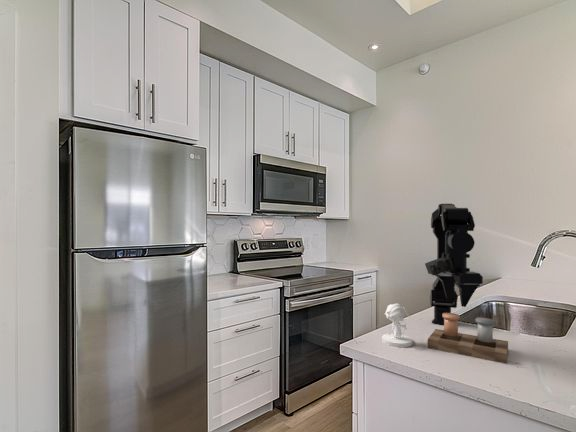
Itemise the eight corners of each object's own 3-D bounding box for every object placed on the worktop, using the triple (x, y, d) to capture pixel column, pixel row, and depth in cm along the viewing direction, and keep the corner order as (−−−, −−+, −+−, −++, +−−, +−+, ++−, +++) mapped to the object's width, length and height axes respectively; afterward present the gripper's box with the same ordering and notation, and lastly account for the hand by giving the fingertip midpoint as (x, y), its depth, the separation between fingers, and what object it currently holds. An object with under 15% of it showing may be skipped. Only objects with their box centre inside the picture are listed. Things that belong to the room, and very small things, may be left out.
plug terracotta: (443, 330, 108) (443, 311, 108) (460, 333, 105) (460, 314, 105) (440, 334, 104) (441, 315, 104) (458, 337, 101) (458, 318, 101)
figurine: (419, 344, 105) (419, 305, 105) (394, 348, 102) (394, 308, 102) (399, 335, 113) (399, 299, 114) (376, 338, 110) (376, 301, 110)
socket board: (435, 336, 112) (435, 328, 112) (508, 349, 101) (508, 341, 101) (427, 347, 103) (427, 339, 103) (506, 363, 91) (506, 354, 91)
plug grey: (476, 336, 103) (476, 316, 103) (495, 339, 100) (495, 319, 100) (474, 340, 99) (474, 320, 99) (494, 344, 96) (494, 323, 96)
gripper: (417, 247, 111) (416, 295, 111) (442, 253, 93) (442, 310, 93) (451, 247, 111) (451, 295, 111) (484, 253, 93) (483, 311, 93)
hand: (455, 302), depth 102 cm, fingers open, 9 cm apart
